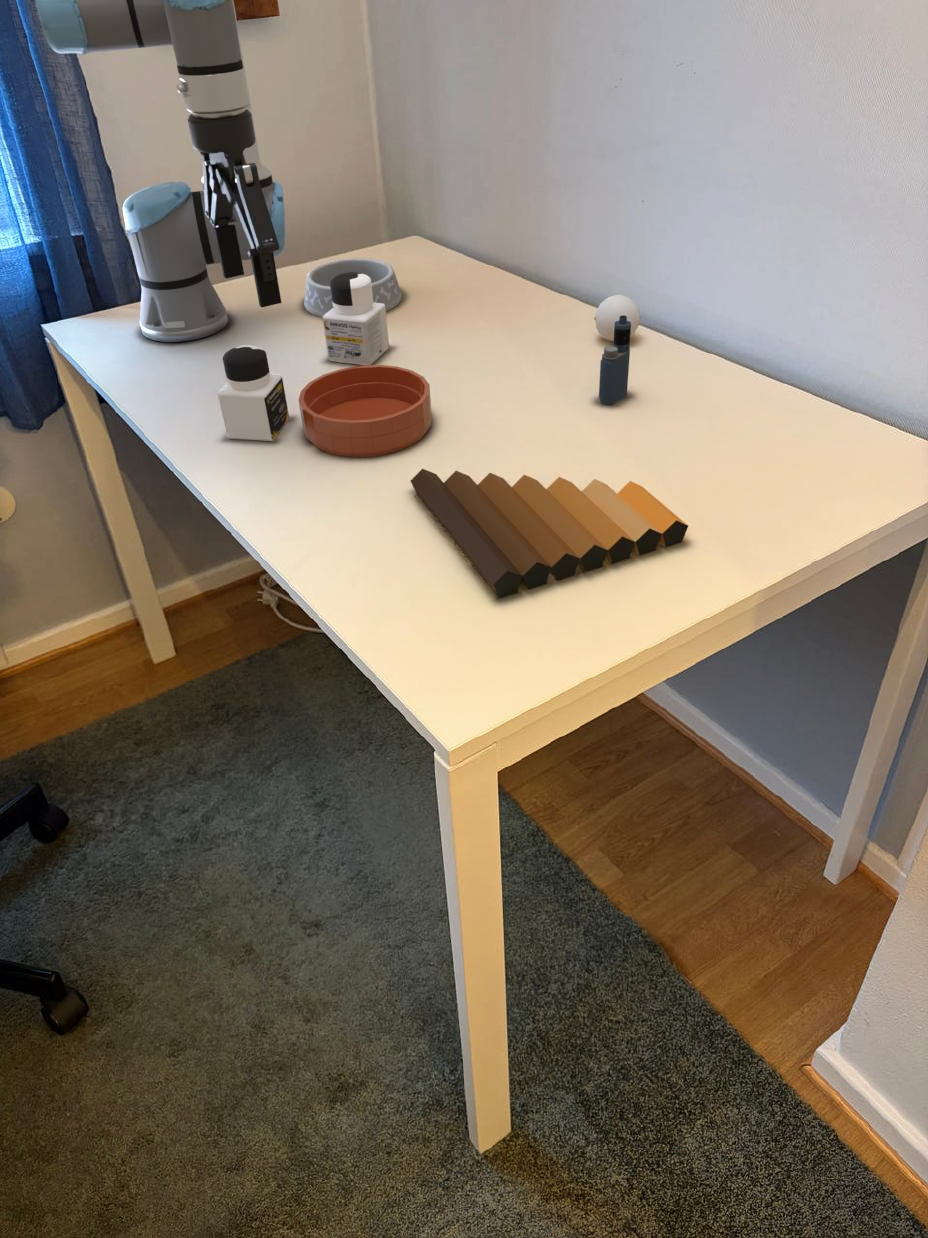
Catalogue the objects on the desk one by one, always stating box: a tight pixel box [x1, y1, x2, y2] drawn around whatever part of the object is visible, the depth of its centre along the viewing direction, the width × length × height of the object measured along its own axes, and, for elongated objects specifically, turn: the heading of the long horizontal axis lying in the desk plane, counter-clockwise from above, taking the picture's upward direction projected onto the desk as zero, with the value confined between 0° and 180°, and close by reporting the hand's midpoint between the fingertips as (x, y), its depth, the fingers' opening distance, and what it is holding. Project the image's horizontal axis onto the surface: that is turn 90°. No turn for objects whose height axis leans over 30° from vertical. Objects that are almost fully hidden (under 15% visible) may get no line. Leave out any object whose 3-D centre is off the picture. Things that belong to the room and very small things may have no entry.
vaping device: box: [598, 315, 631, 406], centre depth 138 cm, size 3×5×12 cm, turn 137°
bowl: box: [297, 364, 433, 458], centre depth 136 cm, size 18×18×6 cm
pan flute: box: [410, 468, 689, 599], centre depth 116 cm, size 25×3×25 cm
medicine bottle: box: [217, 344, 290, 442], centre depth 135 cm, size 7×7×12 cm
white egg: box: [593, 294, 641, 342], centre depth 157 cm, size 10×7×7 cm
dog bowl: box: [303, 257, 403, 318], centre depth 177 cm, size 17×18×5 cm
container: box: [322, 272, 390, 366], centre depth 155 cm, size 8×8×13 cm
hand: (251, 289), depth 126 cm, fingers open, 13 cm apart
